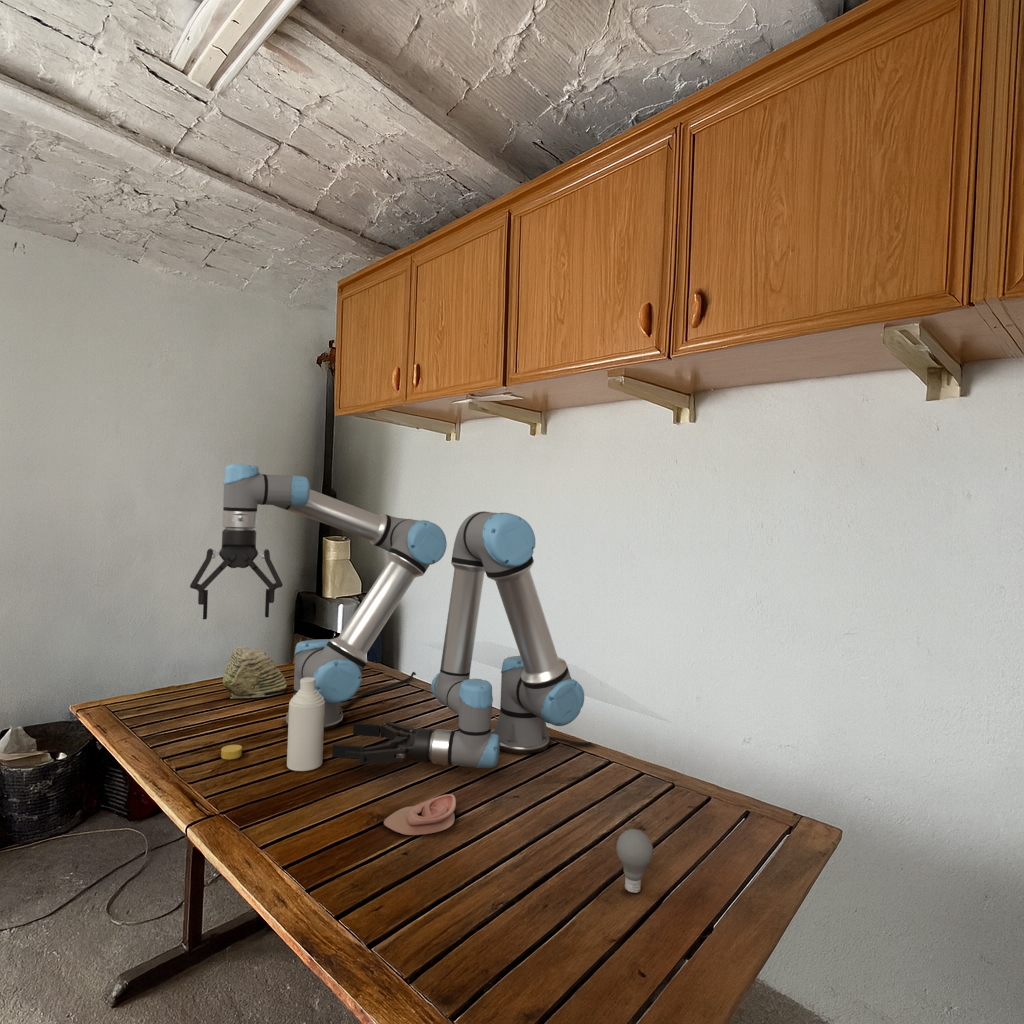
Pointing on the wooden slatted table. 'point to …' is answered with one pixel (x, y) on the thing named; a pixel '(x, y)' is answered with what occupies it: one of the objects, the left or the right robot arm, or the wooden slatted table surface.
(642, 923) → the wooden slatted table surface
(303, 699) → the bottle
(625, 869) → the light bulb
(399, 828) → the anatomical model
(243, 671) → the fossil
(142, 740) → the wooden slatted table surface
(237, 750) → the cap
